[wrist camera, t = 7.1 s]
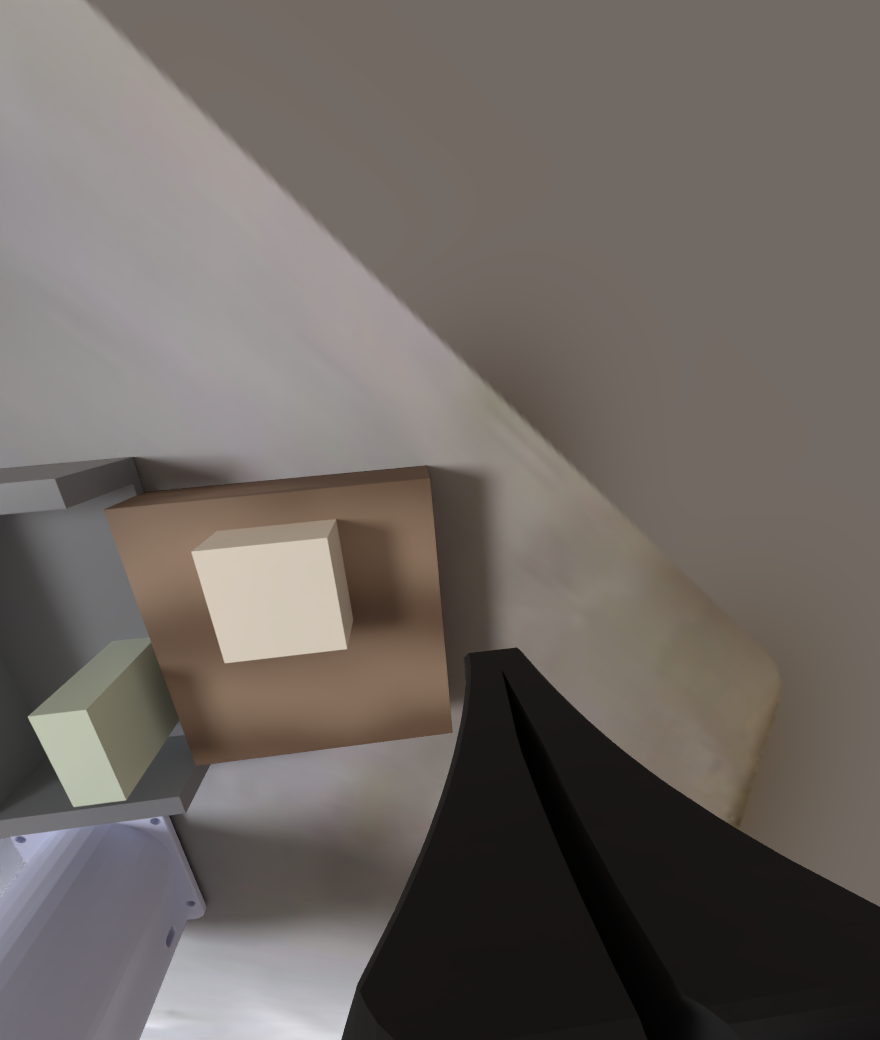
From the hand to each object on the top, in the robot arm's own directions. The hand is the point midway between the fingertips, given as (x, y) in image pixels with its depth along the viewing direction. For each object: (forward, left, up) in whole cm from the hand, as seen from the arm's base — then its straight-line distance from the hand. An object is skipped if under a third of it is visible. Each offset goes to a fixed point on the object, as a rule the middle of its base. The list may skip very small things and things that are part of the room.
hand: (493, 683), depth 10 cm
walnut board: (-3, +7, -10) cm, 12 cm away
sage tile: (-5, +14, -7) cm, 16 cm away
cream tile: (0, +7, -7) cm, 10 cm away
